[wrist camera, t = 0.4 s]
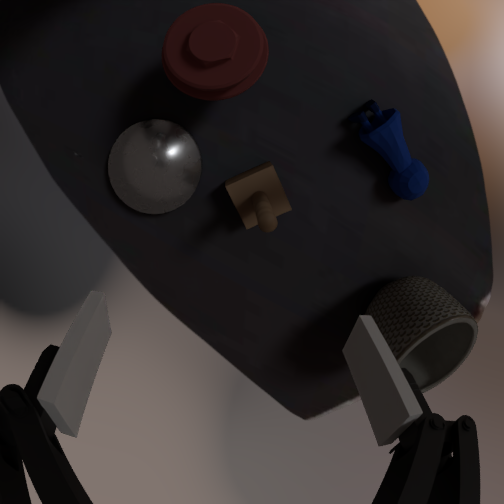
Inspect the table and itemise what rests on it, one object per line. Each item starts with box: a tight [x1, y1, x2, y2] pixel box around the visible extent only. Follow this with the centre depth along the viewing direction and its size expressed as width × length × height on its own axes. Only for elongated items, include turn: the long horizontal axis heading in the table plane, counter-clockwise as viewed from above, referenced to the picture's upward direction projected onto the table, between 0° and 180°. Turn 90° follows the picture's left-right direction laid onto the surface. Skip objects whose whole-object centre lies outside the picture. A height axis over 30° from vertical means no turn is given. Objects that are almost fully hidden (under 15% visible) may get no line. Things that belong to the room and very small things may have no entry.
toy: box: [348, 100, 429, 200], centre depth 33 cm, size 7×6×15 cm
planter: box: [365, 276, 478, 393], centre depth 40 cm, size 17×17×16 cm
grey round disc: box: [108, 119, 202, 214], centre depth 34 cm, size 12×12×2 cm
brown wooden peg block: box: [225, 161, 292, 232], centre depth 32 cm, size 6×6×11 cm
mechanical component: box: [162, 3, 269, 100], centre depth 24 cm, size 12×10×10 cm
